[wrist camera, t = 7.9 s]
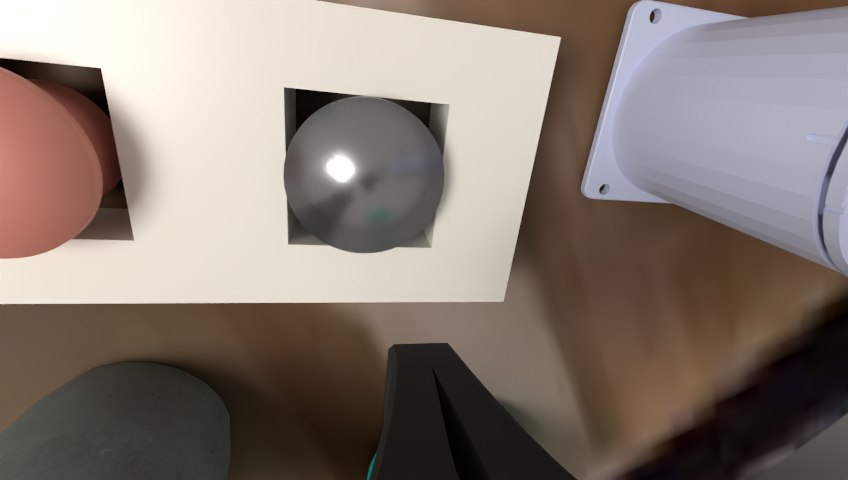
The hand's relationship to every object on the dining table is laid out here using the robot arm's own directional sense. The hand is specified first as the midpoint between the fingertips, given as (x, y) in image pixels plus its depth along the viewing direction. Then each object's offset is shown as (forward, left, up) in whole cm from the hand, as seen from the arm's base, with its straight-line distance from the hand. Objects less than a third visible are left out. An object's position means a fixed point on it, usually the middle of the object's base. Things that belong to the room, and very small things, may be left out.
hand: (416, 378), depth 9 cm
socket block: (+6, -3, -9) cm, 12 cm away
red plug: (+11, -3, -8) cm, 14 cm away
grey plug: (+1, -3, -9) cm, 9 cm away
